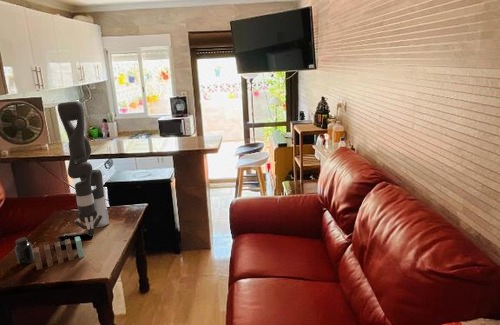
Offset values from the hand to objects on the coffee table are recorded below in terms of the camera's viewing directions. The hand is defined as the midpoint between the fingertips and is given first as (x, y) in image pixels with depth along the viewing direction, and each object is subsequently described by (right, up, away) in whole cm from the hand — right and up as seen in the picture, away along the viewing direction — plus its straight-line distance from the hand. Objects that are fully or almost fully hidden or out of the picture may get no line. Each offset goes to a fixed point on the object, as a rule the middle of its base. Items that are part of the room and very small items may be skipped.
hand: (91, 235), depth 180 cm
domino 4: (-9, -11, -3) cm, 14 cm away
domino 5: (-5, -10, 0) cm, 11 cm away
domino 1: (-20, -13, -9) cm, 26 cm away
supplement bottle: (-29, -12, -4) cm, 32 cm away
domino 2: (-17, -12, -7) cm, 22 cm away
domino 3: (-13, -12, -5) cm, 18 cm away
